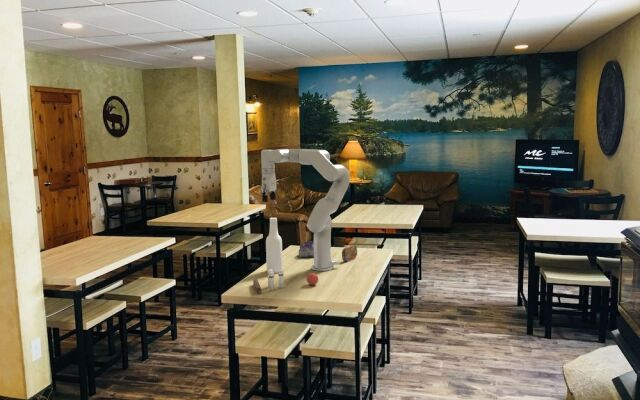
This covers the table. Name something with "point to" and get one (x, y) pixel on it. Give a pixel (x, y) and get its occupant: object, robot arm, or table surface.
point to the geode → (307, 249)
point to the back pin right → (268, 276)
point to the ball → (312, 279)
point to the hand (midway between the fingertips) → (269, 200)
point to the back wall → (257, 286)
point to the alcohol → (274, 248)
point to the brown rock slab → (349, 253)
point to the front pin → (280, 278)
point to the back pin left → (271, 280)
